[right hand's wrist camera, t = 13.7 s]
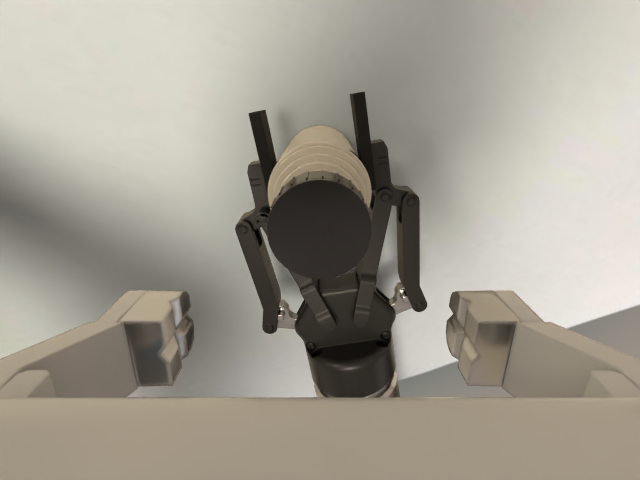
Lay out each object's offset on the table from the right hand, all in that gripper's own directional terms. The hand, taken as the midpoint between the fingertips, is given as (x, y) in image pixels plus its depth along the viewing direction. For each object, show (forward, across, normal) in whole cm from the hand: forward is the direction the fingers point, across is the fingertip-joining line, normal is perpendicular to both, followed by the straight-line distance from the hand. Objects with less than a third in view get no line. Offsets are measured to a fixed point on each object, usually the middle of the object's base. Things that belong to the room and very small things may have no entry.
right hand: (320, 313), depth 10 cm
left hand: (+18, +1, -5) cm, 19 cm away
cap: (+7, 0, 0) cm, 7 cm away
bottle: (+25, 0, 0) cm, 25 cm away
